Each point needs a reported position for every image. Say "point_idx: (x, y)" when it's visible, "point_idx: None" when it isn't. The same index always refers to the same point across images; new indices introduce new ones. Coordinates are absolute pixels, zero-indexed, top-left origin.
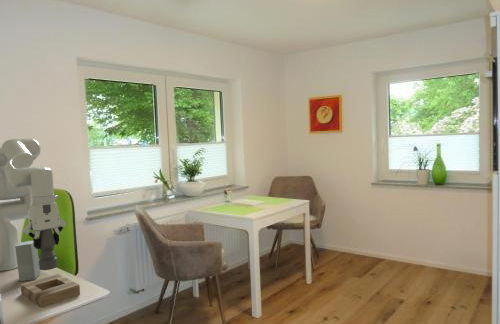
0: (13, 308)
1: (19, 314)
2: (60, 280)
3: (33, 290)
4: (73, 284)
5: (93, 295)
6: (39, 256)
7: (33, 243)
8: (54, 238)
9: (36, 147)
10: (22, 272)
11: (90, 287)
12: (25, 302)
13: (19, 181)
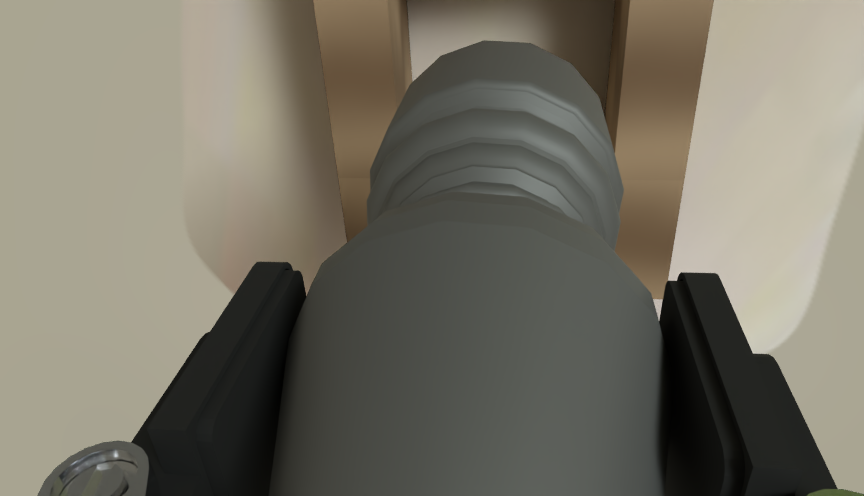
0: (218, 95)
1: (241, 229)
2: (629, 52)
3: (345, 109)
4: (638, 258)
5: None
6: (367, 205)
7: (183, 365)
8: (681, 450)
9: None
10: None
11: (799, 181)
12: (307, 48)
13: None
